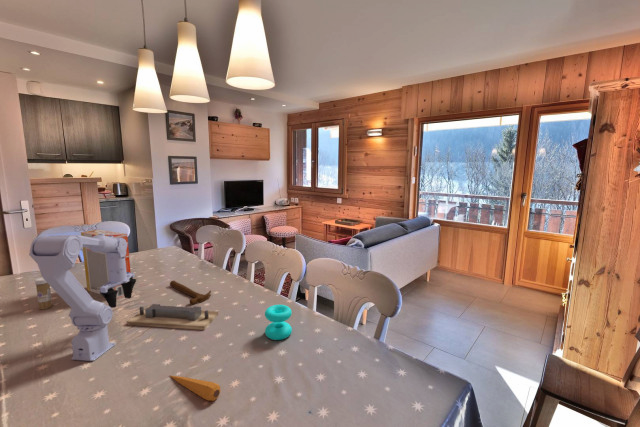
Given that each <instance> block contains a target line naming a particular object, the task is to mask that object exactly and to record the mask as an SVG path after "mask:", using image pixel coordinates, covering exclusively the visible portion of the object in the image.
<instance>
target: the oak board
mask: <svg viewBox="0 0 640 427" xmlns="http://www.w3.org/2000/svg"><path fill="white" fill-rule="evenodd" d="M148 307H149V306H147V307H145V308H144V306H140V307H139V312H138V313H137V314H136V315H134V316H133V317H131V318H130V319H128V320H127V321H126V325H127V326H139V327H151V328H152V327H155V328H169V329H171V328H172V329H186V330H197V331H199V330H200V331H202V330H203V331H204V330H206V329H207V328H208V327H209V326H210V324H212V323H213V321H214V320H215V319H216V318H217V317H218V315H219V311H216V310H215V311H213V310H208V309H207V310H202V309H201V316H200V317H199V318H198V319H197V320H196V321H190V320H188V319H179V318H163V317H154V318H146V314H145V309H147V308H148Z"/></svg>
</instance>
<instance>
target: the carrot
mask: <svg viewBox="0 0 640 427" xmlns="http://www.w3.org/2000/svg"><path fill="white" fill-rule="evenodd" d="M170 378H172V379H173V380H175V381H176V382H177V383H178V384H180V385H182V386H183V387H185V388H186V389H188V390H190V391H191V392H193V393H194V394H196V395H198V396H199V397H201V398H202V399H205V400H206V401H208V402H209V401H210V402H214V401H216V400H217V399H218V398H219V396H220V393H221V385H219V384H218V383H216V382H214V381H208V380H203V379H197V378H191V377H185V376H179V375H178V376H177V375H170Z"/></svg>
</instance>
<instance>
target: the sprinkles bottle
mask: <svg viewBox="0 0 640 427" xmlns="http://www.w3.org/2000/svg"><path fill="white" fill-rule="evenodd" d="M34 283H35V286H36V295H37V296H36V298H37V302H38V309H39V310H47V309H50V308H52V307H53V301H52V293H51V292H52V291H51V286H50V285H49V284H48V283H47V282H46V281H45V280H44V279H43V277H42V276H41V277H37V278H36V279H35V280H34Z"/></svg>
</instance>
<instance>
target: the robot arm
mask: <svg viewBox="0 0 640 427" xmlns="http://www.w3.org/2000/svg"><path fill="white" fill-rule="evenodd" d="M83 247H89V249H90V250H91V251H94V252H103V253H106V261H107V269H108V278H109V281H108V282H107V283H106V284H104V285H103V286H102V287H100V294H99V295H101V296H102V297H103V298H104V300H106V302H107V305H106V303H104V302H101V301H99V300H95V299H94V298H93V297H92V296H91V295H90V294H89V293H88V292H89V291H88V290H87V289H85V288H84V286H83V285H82V284H81V283H80V281H78V279H77V278H76V277H75V276H74V274H73V273H72V272H71V271H70V270H71V269H72V268H73V269H74V267H75V266H76V262H77V260H78V257H79V255H80V253H81V251H83ZM126 249H127V242H126V240H125V239H123V238H114V237H113V236H105V234H98V235H95V236H93V237H86V236H81V234H80V235H79V234H60V235H57V234H55V235H48V236H47V235H39V236H36V237H35V238H34V239H32V242H31V245H30V249H29V252H28V253H29V256H30V258H32V260H33V261H34V262H35V263H36V264H37V266H38V270H39V272H40V275H41V277H43V279H44V280H45V281H46V282H47V283H48V284H49V285H50V288H52V290H53V291H54V292H56V294H57V295H58V296H59V297H60V298H61V299H62V300H63V302H64V303H66V304H67V306H69V307H70V308H71V309H70V311H69V313H68V316H69V317H70V320H71V323H72V326H74V327H77V328H76V329H77V330H79V331H78V333H77V334H76V335H75V336H73V337H72V339H71V347H72V348H71V349H72V357H71V360H72V361H73V360H76V361H84V362H85V361H87V362H88V361H89V362H95V360H97V359H98V358H100V357H101V356H102V355H104V354H105V353H106V352H108V351H109V350H110V349H112V348H113V347H114V346H116V344H117V343H116V342H110V339H109V329H108V324H109V323H111V321H112V318H113V315H114V314H113V308H114V309H115V308H117V299H116V296H117V292H118V290H114V289H113V288H114V287H116V286H117V285H119V284H121V285H122V288H123V292H124V296H123V297H124V298H125V299H131V298H132V295H133V289H134V286H135V284H136V282H137V279H136V278H135V275H136V274H135V272H131V273H128V274H127V272H126V263H125V256H126Z"/></svg>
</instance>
